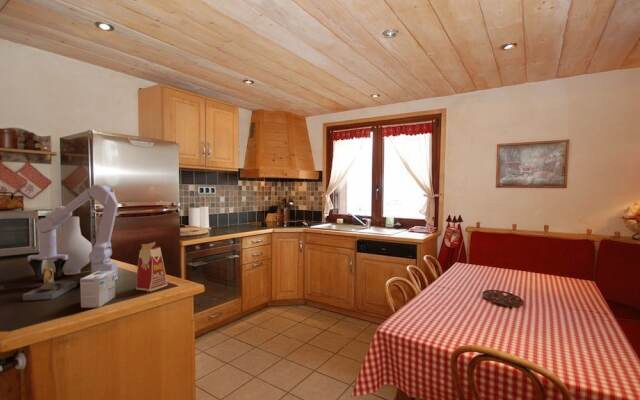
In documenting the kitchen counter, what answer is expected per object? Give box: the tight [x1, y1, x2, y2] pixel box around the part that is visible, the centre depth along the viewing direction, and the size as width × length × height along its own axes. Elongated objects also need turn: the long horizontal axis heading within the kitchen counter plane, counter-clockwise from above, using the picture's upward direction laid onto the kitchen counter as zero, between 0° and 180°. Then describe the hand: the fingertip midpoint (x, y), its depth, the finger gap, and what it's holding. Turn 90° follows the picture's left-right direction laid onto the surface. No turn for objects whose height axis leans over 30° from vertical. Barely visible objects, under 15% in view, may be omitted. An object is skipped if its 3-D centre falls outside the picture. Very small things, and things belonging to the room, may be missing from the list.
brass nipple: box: [43, 267, 55, 285], centre depth 140 cm, size 3×3×7 cm
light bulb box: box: [79, 271, 116, 308], centre depth 120 cm, size 11×7×11 cm, turn 5°
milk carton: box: [135, 241, 168, 292], centre depth 137 cm, size 9×9×20 cm
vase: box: [50, 216, 93, 276], centre depth 158 cm, size 17×16×28 cm
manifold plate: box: [22, 280, 78, 302], centre depth 129 cm, size 10×16×2 cm, turn 10°
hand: (48, 276), depth 140 cm, fingers open, 7 cm apart
